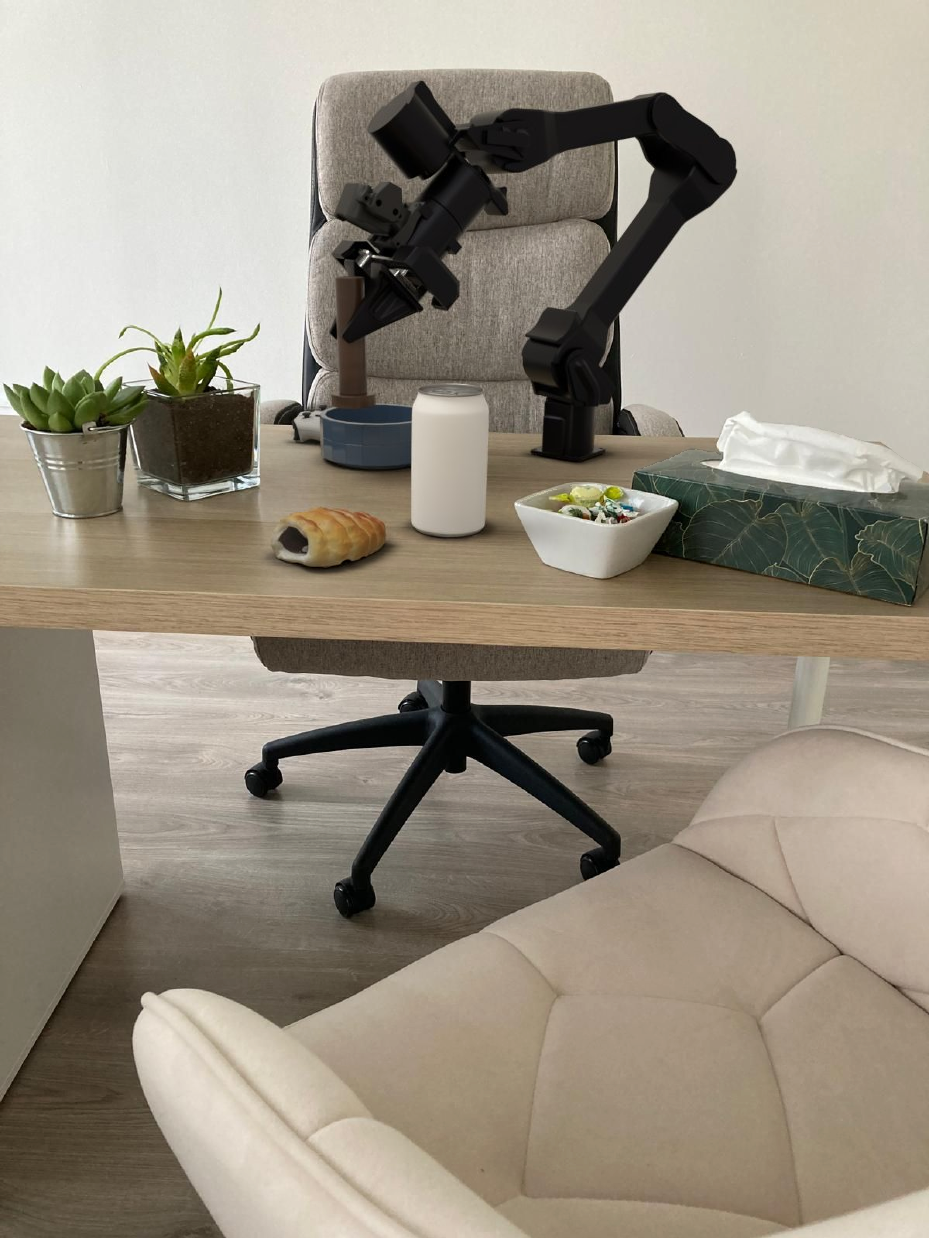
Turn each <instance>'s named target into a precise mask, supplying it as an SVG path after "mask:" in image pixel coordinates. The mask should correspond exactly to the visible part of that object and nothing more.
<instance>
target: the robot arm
mask: <svg viewBox="0 0 929 1238" xmlns="http://www.w3.org/2000/svg"><path fill="white" fill-rule="evenodd" d="M366 132H367V134H368V135H369V136H370V138H371V139H372V140H373V141H374V142H375V143H376V144H377V146H378V147H379V148H380V150H381V151H382V152H383V153H384V154H385V155H386V157H387V158H388V159H389V160H390V161H391V163H392V164H393V165H394V166H395V167H396V169H397V170H398V171H399V173H400V174H401V175H402V176H403V177H404V178H405V179H406V180H412V179H416V178H417V177H418V179H420V181H426V180H429V179H430V180H429V181H428V182H427V184H426V185H425V186H424V187H423V188H422V190H421V191H420V192H419V193H418V194H417V195H416V197H415V198H414V199H413V200H412V201H403V188H402V187H400V186H399V185H396V184H395V183H394V182H392V181H381V182H379V183H378V184H377V185H376V186H375V187H374V188H372V186H371V185H369V184H363V183H360V182H351V183H344V185H343V188H342V191H341V194H340V196H339V199H338V202H337V204H336V207H335V210H334V212H333V217H334V218H335V219H337V220H339V221H341V222H347V223H349V224H350V225H353V226H355V227H356V228H358V229H360V230H363V232H366V233H368V234H369V236H368V237H367V238H366V240H360V239H359V240H358V239H342V240H341V241H340V242H339V243H338V244H337V246H336V247H335V248H334V250H333V251H332V252H331V256H332V258H333V259H334V261H336V262H337V263H338V265H340V266H341V268H343V270H344V271H345V272H346V273H347V276H359V277H364V286H365V297H364V298H363V300H362V301H361V303H360V304H359V306H358V308H357V309H356V311H355V312H354V314H353V315H352V317H351V319H350V320H349V322H348V324H347V325H346V327H345V329H344V331H343V332H342V334H341V337H342V338H343V339H344V340H345V341H346V342H347V343H352V342H354V341H356V340H358V339H360V338H362V337H364V336H366V337H367V336H368V335H370V334H373V333H375V332H377V331H378V330H381V329H383V328H385V327H387V326H390V325H391V324H395V323H396V322H398V321H400V320H403V319H405V318H407V317H410V316H411V315H414V314H416V313H418V314H419V313H421V312H423V311H424V310H425V308H424V307H423V305H422V304H421V303H420V302H421V301H422V300H423V299H424V297H425V296H426V295H427V294H430V295H431V296H432V298H431V301H430V302H431V303H430V306H432V308H434V310H440V311H444V312H448V311H449V310H450V309H451V307H452V306H453V305H454V304H455V303H456V301H457V300H458V299H459V298H460V297H461V296H460V294H461V292H460V291H461V287H460V285H461V281H460V280H459V279H458V277H457V276H456V275H455V274H454V273H453V272H452V270H450V268H449V267H448V266H447V265H446V264H445V263H444V261H443V260H444V259H445V258H446V257H447V255H451V256H452V255H454V256H456V255H458V253H459V252H460V251H461V249H462V248H463V246H462V244H460V242H459V241H460V239H461V238H462V237H463V236H464V235H465V233H466V232H467V231H468V230H469V229H470V227H471V226H472V225H473V224H474V222H475V221H476V220H477V218H478V217H480V215H481V214H482V213H483V212H484V213H485V214H486V216H495V217H496V216H497V217H506V216H508V215H509V212H510V211H509V210H510V209H509V203H508V187H507V186H496V185H495V183H494V182H493V181H492V180H491V178H490V177H489V175H502V174H503V175H504V174H520V173H524V172H526V171H529V170H531V169H533V168H536V167H539V166H540V165H542V164H544V163H547V162H549V161H550V160H552V159H553V158H555V157H557V156H558V155H560V154H562V153H564V152H567V151H572V150H577V149H583V148H586V147H588V148H589V147H592V146H599V145H603V144H608V143H614V142H618V141H623V140H629V139H633V138H635V139H636V140H637V142H638V144H639V148H640V150H641V151H642V155H643V157H644V159H645V161H646V162H647V163H648V164H649V165H650V166H651V167H652V168H653V171H652V173H651V176H650V179H649V186H648V193H647V199H646V201H645V202H644V204H643V205H642V207H641V208H640V209H639V211H638V212H637V213H636V215H635V216H634V217H633V219H632V220H631V222H630V223H629V225H628V226H627V228H625V230H624V232H623V233H622V234H621V236H620V237H619V238H618V240H617V242H615V244H614V246H613V247H612V248H611V249H610V251H609V253H607V255H606V256H605V258H604V259H603V261H602V262H601V264H600V265H599V266H598V268H597V269H596V270H595V272H594V273H593V275H592V276H591V278H590V279H589V280H588V282H587V283H586V284H585V286H584V287H583V289H582V290H581V291H580V293H578V296H577V297H576V298H575V300H573V302H572V303H571V304H570V305H568V306H567V307H565V308H558V307H553V306H546V308H545V309H544V310H543V311H542V312H541V314H540V316H539V318H538V320H537V322H536V323H535V325H534V326H533V327H532V328H531V329H530V330H529V331H527V332H526V333H525V334H524V338H528V339H526V341H525V344H524V345H523V347H522V349H521V350H522V351H521V353H520V354H521V358H522V362H521V363H522V367H523V371H524V373H525V375H526V376H527V377H528V379H529V380H530V385H531V387H532V390H533V394H534V395H535V396H541V397H544V398H545V400H544V402H543V403H544V405H543V406H544V407H543V417H542V435H541V437H542V438H541V445H539V446H536V447H533V448H530V454H532V455H538V456H543V457H544V456H545V457H550V458H555V459H560V460H566V461H572V462H581V461H585V460H587V459H590V458H593V457H596V456H599V455H601V454H605V453H606V450H607V448H605V447H601V446H596V445H595V436H596V424H597V423H596V421H597V407H600V406H603V405H609V404H610V403H611V401H612V398H613V395H614V392H615V389H616V385H615V383H614V382H613V381H612V380H611V378H610V377H609V375H608V374H607V373H606V372H605V371H604V369H603V368H602V367H601V366H600V364H601V362H602V360H603V359H604V357H605V355H606V350H607V343H608V337H609V331H610V328H611V326H612V325H613V323H614V322H615V320H616V319H617V317H618V316H619V315H620V314H621V312H622V311H623V309H624V308H625V307H626V305H627V304H628V302H629V301H630V300H631V298H632V297H633V296H634V294H635V293H636V291H637V290H638V288H639V287H640V286H641V285H642V283H643V282H644V280H645V279H646V278H647V276H648V274H649V273H650V272H651V270H652V269H653V268H654V267H655V265H656V264H657V262H658V261H659V260H660V259H661V257H662V255H663V254H664V252H665V251H666V250H667V248H668V247H669V246H670V244H671V242H672V241H673V240H674V238H675V237H676V236H677V234H678V233H679V232H680V230H681V229H682V227H683V226H684V225H685V224H687V222H689V221H690V220H692V219H693V218H696V217H697V216H698V215H700V214H702V213H703V212H705V211H706V210H708V209H709V208H711V207H712V206H713V205H714V204H715V203H716V202H717V201H718V200H719V199H720V198H721V197H722V196H723V195H724V194H725V193H726V192H727V191H728V190H729V189H730V188H731V186H732V185H733V183H734V181H735V180H736V178H737V176H738V175H737V174H738V168H737V156H736V155H737V154H736V151H735V149H734V147H733V145H732V143H731V142H730V141H729V140H727V139H726V138H724V137H722V136H720V135H719V134H718V132H717V131H715V130H714V128H713V127H712V126H710V125H709V124H707V123H706V122H705V121H703V120H701V119H700V118H698V117H697V116H695V115H694V114H693V113H690V111H688V110H686V109H685V108H684V107H683V106H682V105H681V103H680V102H679V101H678V100H677V99H676V98H675V97H674V96H672V95H671V94H669V93H667V92H666V91H665V92H662V91H659V92H652V93H651V92H649V93H644V94H638V95H635V96H634V97H632V98H629V99H623V100H617V101H612V102H607V103H601V104H594V105H589V106H584V107H578V108H573V109H567V110H561V111H556V110H555V111H554V110H548V109H539V108H525V107H523V108H521V107H514V108H513V107H511V108H506V109H498V110H497V109H496V110H491V111H483V112H480V113H477V114H475V115H473V116H472V117H471V118H470V119H469V122H465V123H458V124H455V123H454V122H453V121H452V119H451V118H450V117H449V115H448V114H447V113H446V111H444V109H443V108H442V106H441V105H440V103H438V101H437V100H436V99H435V96H434V94H433V92H432V90H431V89H430V87H429V86H428V85H427V84H426V82H425V81H424V80H416V81H413V82H411V83H410V84H409V85H408V86H407V88H406V89H405V90H403V91H402V92H400V93H399V94H398V95H396V96H395V97H393V99H392V100H390V101H389V102H388V103H387V104H386V105H382V106H381V107H380V108H379V109H378V110H377V112H376V113H375V114H374V115H373V117H372V118H371V119H370V121H369V123H368V124H367V127H366ZM376 249H377V251H376ZM328 334H329V335H330V336H331V337H332V338H333V339H334V340H337V319H336V316H335V317H334V319H333V321H332V324H331V326H330V329H329V331H328Z"/></svg>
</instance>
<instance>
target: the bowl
mask: <svg viewBox="0 0 929 1238" xmlns="http://www.w3.org/2000/svg"><path fill="white" fill-rule="evenodd" d="M412 407H413V405H406V404H397V403H395V404H394V403H376V405H375V406H373V407H370V408H363V409H343V408H336V407H333V406H332V407H328V408H326V410H324V411H322V412H321V413H320V441H319V442H320V443H319V444H320V455H321V456H322V458H324V459H325V460H328V461H330V462H333V463H334V464H337V465H339V466H341V467H346V468H353V469H361V470H394V469H403V468H407V467H411V464H412Z"/></svg>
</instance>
